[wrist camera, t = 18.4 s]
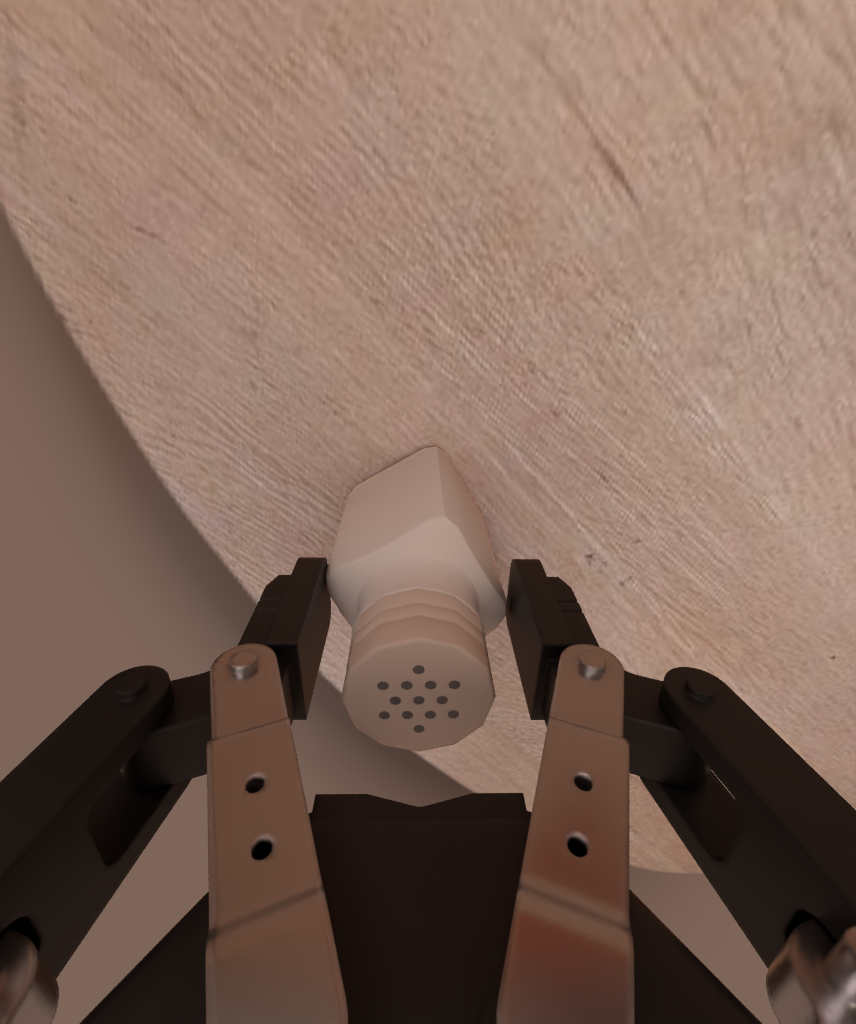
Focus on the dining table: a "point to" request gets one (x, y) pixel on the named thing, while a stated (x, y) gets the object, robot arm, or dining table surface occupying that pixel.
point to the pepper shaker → (416, 604)
